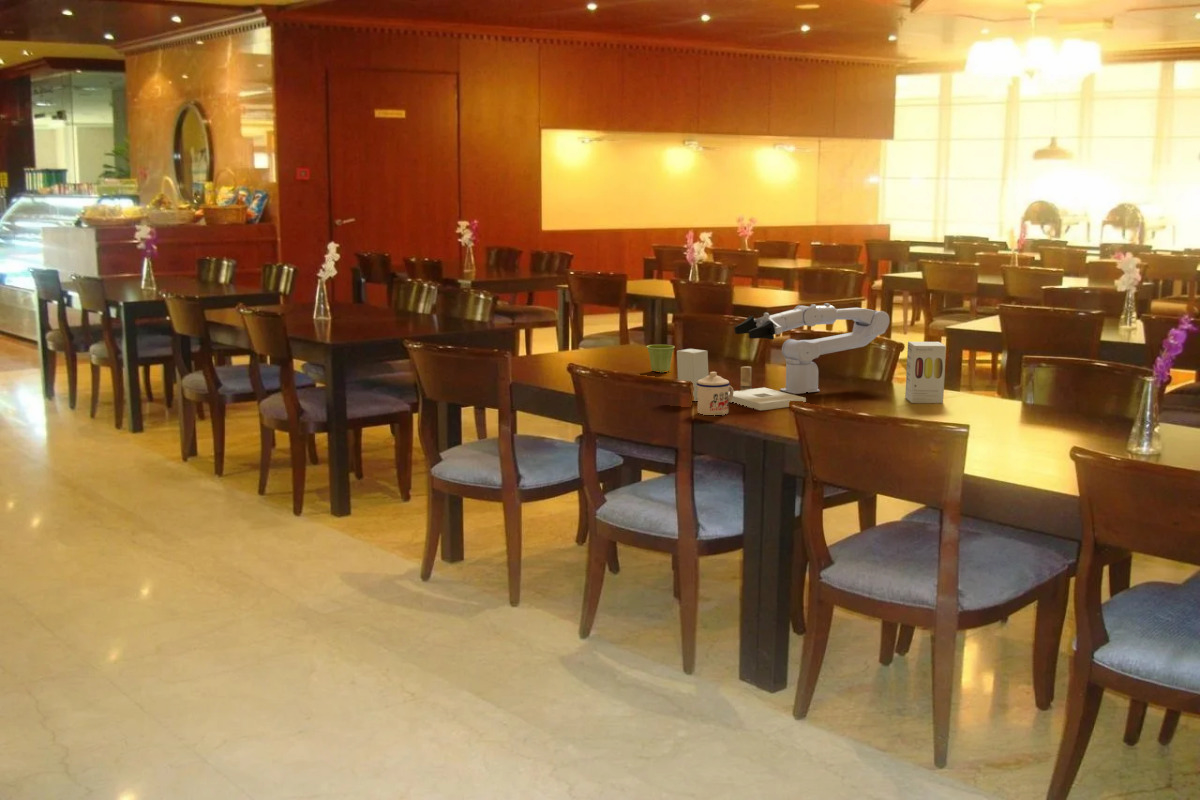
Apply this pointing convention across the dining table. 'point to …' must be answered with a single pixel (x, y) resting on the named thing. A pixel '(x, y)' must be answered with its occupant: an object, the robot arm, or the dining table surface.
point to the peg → (745, 378)
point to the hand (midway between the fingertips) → (742, 332)
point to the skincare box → (692, 367)
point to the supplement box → (925, 372)
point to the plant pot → (660, 357)
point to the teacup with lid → (713, 395)
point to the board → (764, 398)
